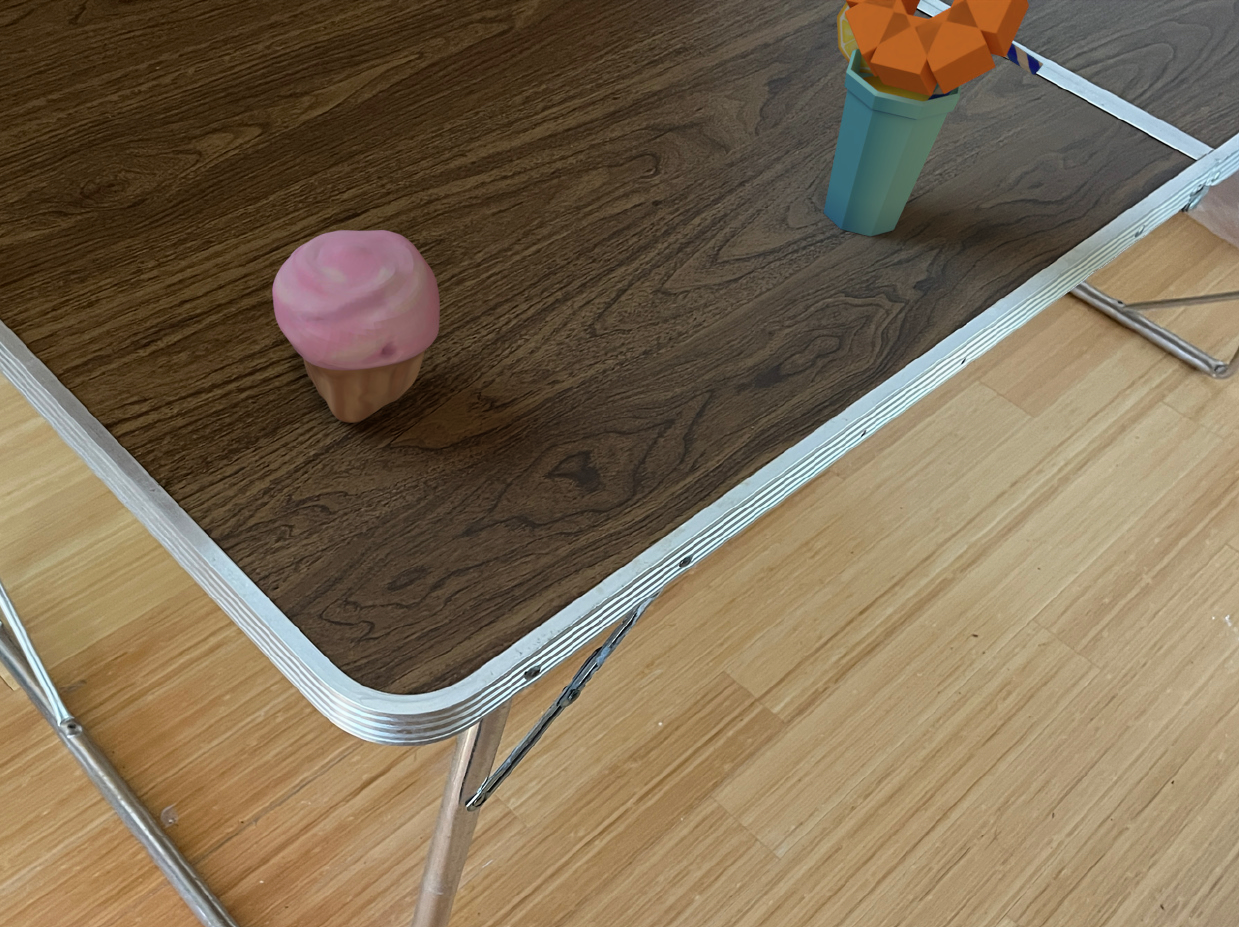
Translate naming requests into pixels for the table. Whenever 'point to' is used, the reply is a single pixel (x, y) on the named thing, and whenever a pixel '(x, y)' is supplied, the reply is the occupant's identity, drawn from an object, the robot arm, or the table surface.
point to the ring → (933, 40)
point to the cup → (884, 140)
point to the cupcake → (358, 316)
